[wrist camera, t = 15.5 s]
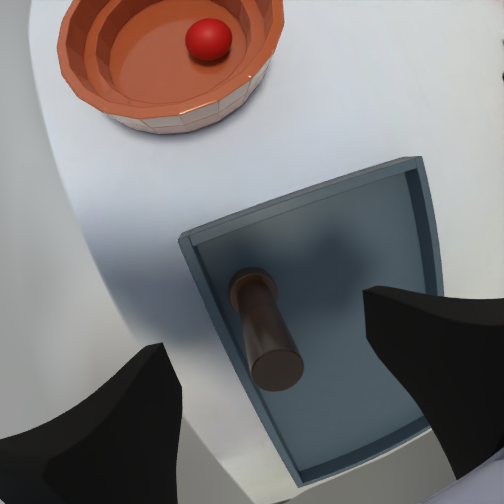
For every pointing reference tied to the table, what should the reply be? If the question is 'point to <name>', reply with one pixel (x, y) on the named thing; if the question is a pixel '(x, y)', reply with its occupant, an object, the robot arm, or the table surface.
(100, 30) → the bowl
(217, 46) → the bead
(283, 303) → the tray
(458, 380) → the robot arm
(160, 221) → the table surface
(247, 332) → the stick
